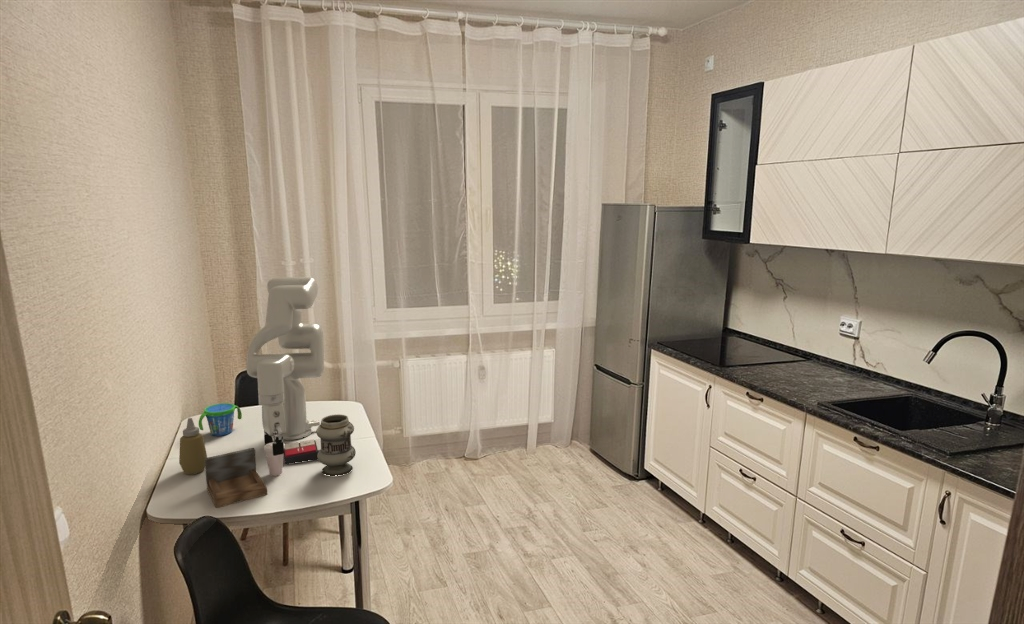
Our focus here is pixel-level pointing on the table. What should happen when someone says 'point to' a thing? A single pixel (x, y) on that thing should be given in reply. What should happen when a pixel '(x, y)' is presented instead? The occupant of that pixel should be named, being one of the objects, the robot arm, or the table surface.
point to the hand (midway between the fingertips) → (274, 449)
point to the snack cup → (220, 418)
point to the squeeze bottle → (192, 450)
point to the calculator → (302, 451)
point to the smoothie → (273, 460)
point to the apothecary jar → (335, 444)
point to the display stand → (233, 477)
